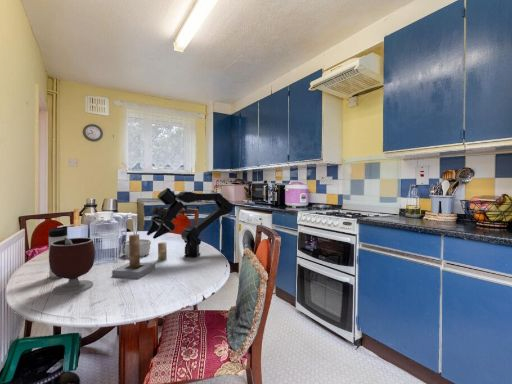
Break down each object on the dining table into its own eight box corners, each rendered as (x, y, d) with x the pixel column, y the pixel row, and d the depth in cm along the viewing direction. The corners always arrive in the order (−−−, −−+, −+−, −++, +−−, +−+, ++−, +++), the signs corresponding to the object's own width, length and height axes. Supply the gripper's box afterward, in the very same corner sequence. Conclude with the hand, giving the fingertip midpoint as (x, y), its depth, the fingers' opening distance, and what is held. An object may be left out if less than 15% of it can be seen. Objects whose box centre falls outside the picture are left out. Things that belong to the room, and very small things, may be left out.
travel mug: (73, 274, 115) (71, 226, 114) (57, 279, 109) (55, 229, 108) (62, 272, 117) (61, 225, 116) (45, 278, 111) (44, 228, 110)
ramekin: (155, 251, 152) (155, 239, 152) (143, 258, 139) (143, 244, 139) (132, 251, 153) (132, 238, 153) (118, 257, 140) (118, 244, 140)
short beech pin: (168, 258, 140) (167, 242, 139) (164, 260, 136) (163, 244, 135) (160, 257, 140) (160, 242, 140) (156, 259, 137) (156, 243, 136)
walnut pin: (140, 270, 120) (139, 234, 120) (139, 273, 116) (138, 235, 116) (130, 271, 119) (129, 234, 118) (128, 274, 115) (128, 236, 115)
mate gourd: (56, 283, 105) (55, 231, 104) (98, 279, 110) (97, 228, 109) (42, 300, 90) (40, 239, 90) (90, 294, 95) (89, 236, 94)
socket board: (155, 269, 122) (155, 263, 122) (138, 278, 111) (138, 272, 111) (130, 267, 125) (130, 261, 125) (112, 276, 113) (112, 270, 113)
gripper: (154, 199, 141) (131, 223, 134) (168, 201, 126) (143, 228, 120) (169, 213, 146) (148, 237, 140) (184, 217, 131) (161, 244, 125)
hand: (150, 236), depth 131 cm, fingers open, 9 cm apart
